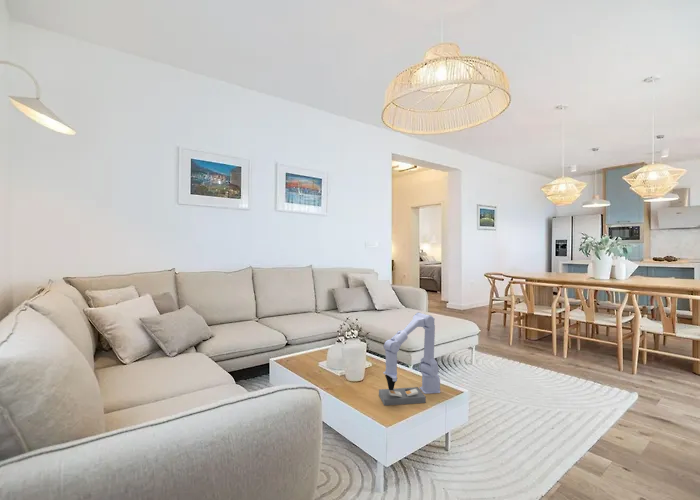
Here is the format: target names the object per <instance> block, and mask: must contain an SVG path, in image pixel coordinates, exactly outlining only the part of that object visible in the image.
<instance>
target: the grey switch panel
mask: <svg viewBox="0 0 700 500" xmlns="http://www.w3.org/2000/svg"><path fill="white" fill-rule="evenodd" d="M413 389H416V390H417V391H418V394H415V395H411V396H408V397H407V395H406V394H405V391H409V390H413ZM391 391H397V392H400V393H401V394H402V397H399V396H393V395H390V393H389V388H381V389H378V396H379V398H380V400H381V402H382V404H383V406H398V405H414V404H425V403H426V401H427V400H426V397H427V396H426V395H425V394H424V393H423V392H422V390H421V389H420V388H419V387H418V386H415V387H398V388H394V389H393V390H391Z"/></svg>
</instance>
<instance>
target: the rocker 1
mask: <svg viewBox="0 0 700 500" xmlns="http://www.w3.org/2000/svg"><path fill="white" fill-rule="evenodd" d="M389 393H390V395H393V396H399V397H402V394H401V393H400V392H397V391H391V390H389Z"/></svg>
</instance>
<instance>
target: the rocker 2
mask: <svg viewBox="0 0 700 500" xmlns="http://www.w3.org/2000/svg"><path fill="white" fill-rule="evenodd" d="M405 394H406V395H407V397H408V396H411V395H415V394H418V391H417V390H416V389H413V390H409V391H405Z"/></svg>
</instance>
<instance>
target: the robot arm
mask: <svg viewBox="0 0 700 500" xmlns="http://www.w3.org/2000/svg"><path fill="white" fill-rule="evenodd" d="M418 327H419V328H422V329H424V339H423V341H424V344H423V345H424V347H423V357H421V358H420V362H419V365H418V369H419V370H420V372H421V373H420V374H421V380H422V381H421V386H419V387H418V388H419V389H420V391H421V392H422V393H423V394H424V395H426V394H427V395H428V394H441V378H440V375H439V369H440V368H439V366H438V364H439V363H438V362H437V360H436V359H435V337H436V336H435V335H436V331H435V330H436V325H435V318H434V316H432V315H431V314H426V313H421V312H416V313H415V315H413V316H412V319H411V320H410V322H409V323H408V324H407V325H406V326H405V328H404V329H402V330H398V331H397V332H396V333H395V335H393V336H392V337H391V338H390V339H387V340H386V341H385V342H384V343H383V344H384V345H383V349H384V353H385V371H383V375H384V377H385V378H386V382H387V387H388V388H387V389H389V390H393V389H395V385H396V382H397V381H398V377H397V376H398V371H397V370H398V369H397V368H398V352H399V350H400V349H401V346H402V345H403V344H404V342H406V340H408V336H409V335H410V334H411V333H412V332H414V330H416V329H418Z"/></svg>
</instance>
